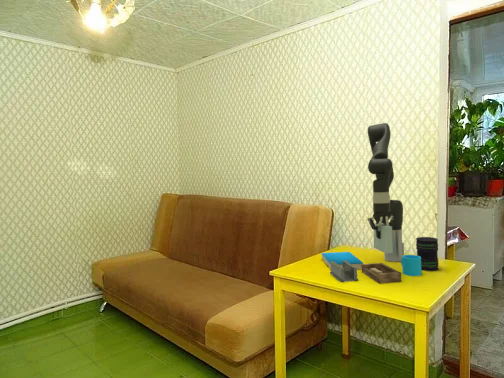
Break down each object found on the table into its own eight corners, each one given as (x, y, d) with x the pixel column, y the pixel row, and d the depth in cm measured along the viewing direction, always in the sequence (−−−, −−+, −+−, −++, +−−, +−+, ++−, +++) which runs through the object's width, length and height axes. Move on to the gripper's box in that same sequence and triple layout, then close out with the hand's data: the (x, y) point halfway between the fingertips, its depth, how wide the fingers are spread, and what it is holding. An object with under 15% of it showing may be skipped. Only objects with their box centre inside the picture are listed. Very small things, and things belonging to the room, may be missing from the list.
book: (331, 264, 179) (320, 252, 204) (331, 272, 179) (320, 259, 204) (364, 262, 179) (350, 251, 204) (364, 270, 179) (350, 258, 204)
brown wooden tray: (381, 270, 176) (381, 262, 175) (401, 281, 158) (401, 272, 158) (361, 272, 174) (361, 264, 174) (379, 283, 156) (378, 274, 156)
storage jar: (428, 265, 182) (428, 236, 182) (443, 269, 173) (442, 239, 172) (412, 267, 180) (411, 238, 179) (425, 272, 170) (425, 241, 170)
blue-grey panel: (379, 247, 172) (379, 222, 171) (392, 252, 160) (391, 226, 159) (374, 247, 171) (373, 223, 171) (386, 253, 159) (385, 227, 159)
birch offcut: (374, 271, 169) (374, 267, 169) (382, 275, 162) (382, 271, 162) (369, 272, 169) (369, 268, 169) (377, 276, 162) (377, 272, 162)
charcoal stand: (346, 272, 175) (346, 260, 175) (358, 280, 162) (357, 267, 161) (330, 273, 174) (329, 261, 174) (340, 282, 161) (340, 269, 160)
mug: (425, 275, 166) (424, 257, 165) (409, 276, 164) (409, 259, 164) (408, 268, 178) (408, 252, 177) (394, 270, 176) (394, 253, 176)
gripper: (391, 200, 169) (392, 235, 170) (363, 202, 167) (364, 238, 168) (399, 201, 162) (401, 238, 162) (370, 203, 160) (372, 241, 161)
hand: (382, 238), depth 165 cm, fingers closed on blue-grey panel, 3 cm apart
